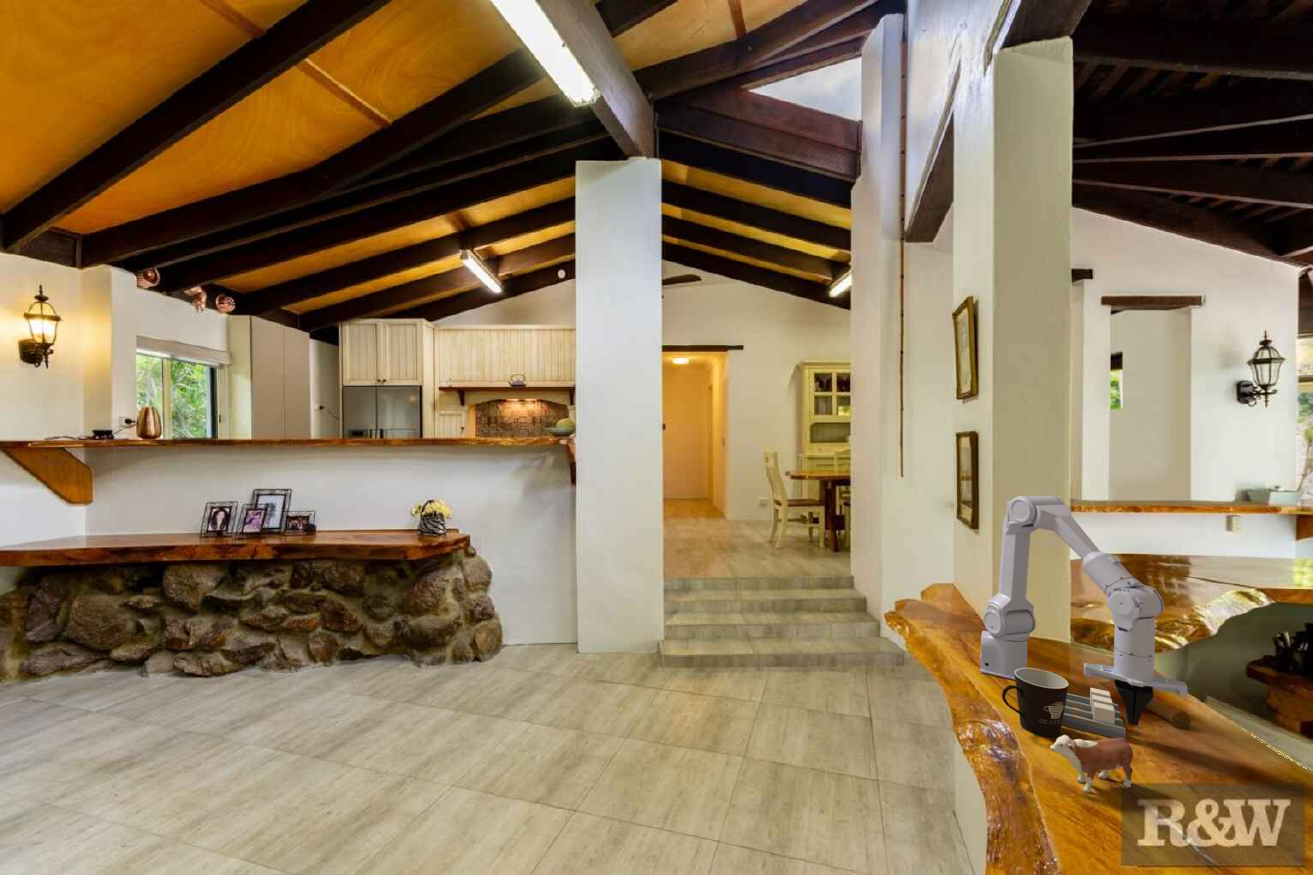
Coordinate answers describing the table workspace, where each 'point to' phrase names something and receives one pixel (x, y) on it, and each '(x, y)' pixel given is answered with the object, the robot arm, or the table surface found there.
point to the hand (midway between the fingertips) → (1132, 722)
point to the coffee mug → (1039, 701)
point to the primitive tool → (1159, 709)
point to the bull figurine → (1096, 757)
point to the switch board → (1090, 718)
